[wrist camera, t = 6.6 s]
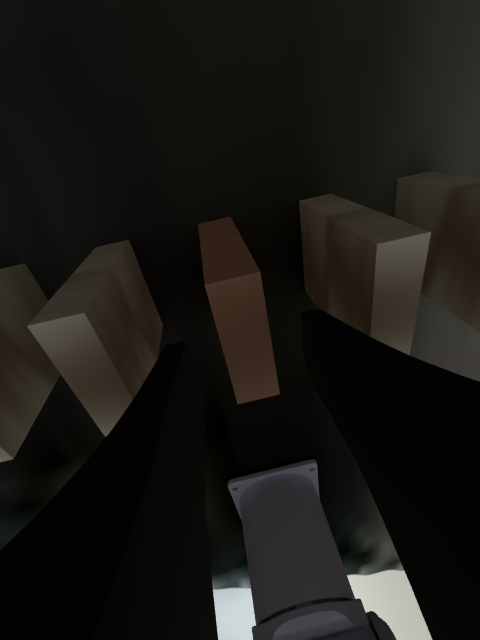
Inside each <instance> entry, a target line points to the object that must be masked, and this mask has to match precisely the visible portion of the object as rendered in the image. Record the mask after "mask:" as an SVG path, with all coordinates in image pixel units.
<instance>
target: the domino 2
mask: <svg viewBox="0 0 480 640" xmlns="http://www.w3.org/2000/svg"><path fill="white" fill-rule="evenodd" d="M27 327H28V329H29V330H30V331H31V333H32V334H33V336H34V337H35V338H36V340H37V341H38V343H39V344H40V345H41V347H42V348H43V350H44V351H45V352H46V354H47V355H48V357H49V358H50V359H51V361H52V362H53V364H54V365H55V367H56V368H57V369H58V371H59V372H60V374H61V375H62V376H63V378H64V379H65V381H66V382H67V383H68V385H69V386H70V388H71V389H72V390H73V392H74V393H75V395H76V396H77V397H78V399H79V400H80V402H81V403H82V405H83V406H84V407H85V409H86V410H87V412H88V413H89V414H90V416H91V417H92V419H93V420H94V421H95V423H96V424H97V426H98V427H99V428H100V430H101V431H102V433H103V434H104V435H105V436H107V435H108V434H109V433H110V431H111V430H112V429H113V427H114V426H115V425H116V423H117V422H118V420H119V419H120V417H121V416H122V415H123V413H124V412H125V410H126V409H127V407H128V406H129V405H130V403H131V402H132V400H133V399H134V397H135V395H136V394H137V392H138V391H139V389H140V387H141V386H142V384H143V383H144V381H145V380H146V378H147V376H148V375H149V373H150V371H151V370H152V368H153V366H154V364H155V363H156V361H157V359H158V354H159V348H160V341H161V334H162V327H163V324H162V321H161V319H160V316H159V314H158V311H157V309H156V306H155V304H154V301H153V299H152V296H151V294H150V291H149V289H148V286H147V284H146V281H145V279H144V276H143V274H142V271H141V269H140V266H139V264H138V261H137V259H136V256H135V254H134V251H133V249H132V246H131V244H130V241H129V240H125V241H121V242H117V243H112V244H108V245H103V246H99V247H96V248H95V249H94V250H93V251H92V252H91V253H90V255H89V256H88V257H87V258H86V259H85V260H84V261H83V263H82V264H81V265H80V266H79V267H78V268H77V269H76V271H75V272H74V273H73V274H72V275H71V276H70V277H69V279H68V280H67V281H66V282H65V283H64V284H63V285H62V287H61V288H60V289H59V290H58V291H57V292H56V293H55V294H54V296H53V297H52V298H51V299H50V300H49V301H48V302H47V304H46V305H45V306H44V307H43V308H42V309H41V310H40V312H39V313H38V314H37V315H36V316H35V317H34V318H33V320H32V321H31V322H30V323H29V324H28V325H27Z"/></svg>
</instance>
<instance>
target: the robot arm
mask: <svg viewBox="0 0 480 640" xmlns="http://www.w3.org/2000/svg"><path fill="white" fill-rule="evenodd" d="M301 324H302V336H303V348H304V360H305V364H306V367H307V369H308V372H309V374H310V377H311V379H312V381H313V384H314V386H315V388H316V390H317V392H318V394H319V396H320V397H321V399H322V401H323V403H324V404H325V406H326V408H327V410H328V412H329V413H330V415H331V417H332V419H333V420H334V422H335V424H336V426H337V427H338V429H339V431H340V433H341V434H342V436H343V438H344V439H345V441H346V443H347V445H348V446H349V448H350V450H351V452H352V454H353V456H354V458H355V460H356V461H357V463H358V465H359V467H360V470H361V472H362V474H363V476H364V478H365V481H366V483H367V485H368V487H369V489H370V492H371V494H372V496H373V498H374V500H375V503H376V505H377V507H378V510H379V512H380V514H381V516H382V519H383V521H384V523H385V526H386V528H387V530H388V533H389V535H390V537H391V539H392V542H393V544H394V547H395V549H396V551H397V554H398V556H399V558H400V561H401V563H402V566H403V568H404V570H405V573H406V575H407V578H408V580H409V582H410V585H411V587H412V589H413V592H414V595H415V597H416V600H417V602H418V605H419V607H420V610H421V612H422V615H423V617H424V619H425V622H426V625H427V627H428V630H429V632H430V634H431V637H432V639H433V640H480V382H479V381H476V380H473V379H470V378H467V377H464V376H461V375H458V374H455V373H453V372H450V371H448V370H445V369H442V368H440V367H437V366H434V365H432V364H429V363H427V362H424V361H422V360H419V359H417V358H415V357H412V356H410V355H408V354H406V353H403V352H401V351H399V350H397V349H395V348H393V347H390V346H388V345H386V344H384V343H382V342H380V341H378V340H376V339H374V338H372V337H370V336H368V335H366V334H364V333H363V332H361V331H359V330H357V329H355V328H353V327H352V326H350V325H348V324H346V323H344V322H343V321H341V320H339V319H337V318H335V317H334V316H332V315H330V314H328V313H327V312H325V311H323V310H321V309H316V310H312V311H308V312H304V313H301ZM228 488H229V491H230V493H231V496H232V498H233V501H234V503H235V506H236V508H237V511H238V513H239V516H240V518H241V521H242V525H243V532H244V540H245V547H246V554H247V562H248V569H249V576H250V584H251V591H252V598H253V606H254V613H255V620H256V626H253V627H252V633H253V640H396V638H395V636H394V634H393V632H392V631H391V629H390V628H389V626H388V625H387V623H386V622H385V621H383V620H382V619H381V618H379V617H378V615H377V614H376V613H375V612H373V611H370V612H367V613H366V612H365V610H364V607H363V604H362V602H361V599H355V597H354V594H353V592H352V589H351V586H350V583H349V580H348V578H347V575H346V572H345V569H344V567H343V564H342V561H341V558H340V555H339V553H338V550H337V547H336V544H335V542H334V539H333V536H332V533H331V530H330V528H329V525H328V522H327V519H326V517H325V514H324V511H323V508H322V505H321V503H320V499H319V485H318V471H317V463H316V461H315V460H314V459H310V460H306V461H302V462H298V463H294V464H290V465H286V466H282V467H278V468H274V469H270V470H266V471H262V472H258V473H254V474H250V475H246V476H242V477H238V478H234V479H231V480H229V481H228ZM0 640H218V634H217V625H216V615H215V606H214V597H213V587H212V577H211V566H210V555H209V545H208V533H207V521H206V508H205V410H204V401H203V392H202V386H201V383H200V381H199V378H198V375H197V372H196V369H195V367H194V364H193V361H192V358H191V356H190V353H189V350H188V347H187V344H186V342H185V341H182V342H178V343H173V344H169V345H166V346H165V348H164V349H163V351H162V353H161V354H160V356H159V358H158V359H157V361H156V363H155V364H154V366H153V368H152V370H151V371H150V373H149V375H148V376H147V378H146V380H145V381H144V383H143V384H142V386H141V387H140V389H139V391H138V392H137V394H136V395H135V397H134V399H133V400H132V402H131V403H130V405H129V406H128V407H127V409H126V410H125V412H124V413H123V415H122V416H121V417H120V419H119V420H118V422H117V423H116V425H115V426H114V427H113V429H112V430H111V431H110V433H109V434H108V435H107V436H106V438H105V439H104V440H103V442H102V443H101V444H100V445H99V446H98V448H97V449H96V450H95V451H94V453H93V454H92V455H91V456H90V457H89V459H88V460H87V461H86V462H85V463H84V464H83V466H82V467H81V468H80V469H79V470H78V471H77V472H76V473H75V475H74V476H73V477H72V478H71V479H70V480H69V481H68V482H67V483H66V484H65V485H64V486H63V487H62V489H61V490H60V491H59V492H58V493H57V494H56V495H55V496H54V497H53V498H52V499H51V500H50V502H49V503H48V504H47V505H46V506H45V507H44V508H43V509H42V510H41V511H40V512H39V513H38V514H37V515H36V516H35V517H34V518H33V519H32V520H31V521H30V522H29V523H28V524H27V525H26V526H25V527H24V528H23V529H22V530H21V531H20V532H19V533H18V534H17V535H16V536H15V537H14V538H13V539H12V540H11V541H10V542H9V543H8V544H7V545H6V546H5V547H4V548H3V549H1V550H0Z"/></svg>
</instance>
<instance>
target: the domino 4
mask: <svg viewBox="0 0 480 640" xmlns="http://www.w3.org/2000/svg"><path fill="white" fill-rule="evenodd" d="M394 218H396V219H399V220H402V221H404V222H407V223H410V224H412V225H415V226H417V227H420V228H423V229H425V230H428V231H431V235H430V241H429V247H428V253H427V258H426V264H425V270H424V275H423V281H422V287H421V294H423V295H424V296H426V297H427V298H429V299H430V300H432V301H433V302H435V303H436V304H438V305H439V306H441V307H443V308H444V309H446V310H447V311H449V312H450V313H452V314H453V315H455V316H456V317H458V318H459V319H461V320H462V321H464V322H465V323H467V324H468V325H470V326H471V327H473V328H474V329H476V330H477V331H479V332H480V178H477V177H470V176H462V175H454V174H447V173H439V172H432V171H428V172H423V173H419V174H414V175H410V176H406V177H401V178H398V181H397V190H396V200H395V210H394Z"/></svg>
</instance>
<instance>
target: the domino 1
mask: <svg viewBox="0 0 480 640" xmlns="http://www.w3.org/2000/svg"><path fill="white" fill-rule="evenodd" d="M48 301H49V300H48V299H47V297H46V296H45V294H44V292H43V291H42V289H41V288H40V286H39V284H38V283H37V281H36V280H35V278H34V276H33V275H32V273H31V272H30V270H29V268H28V267H27V265H26V264H20V265H16V266H11V267H7V268H3V269H0V462H3V461H7V460H11V459H14V457H15V455H16V453H17V452H18V450H19V448H20V446H21V444H22V442H23V441H24V439H25V437H26V435H27V433H28V432H29V430H30V428H31V426H32V424H33V423H34V421H35V419H36V417H37V415H38V414H39V412H40V410H41V408H42V406H43V405H44V403H45V401H46V399H47V397H48V396H49V394H50V392H51V390H52V388H53V387H54V385H55V383H56V381H57V379H58V378H59V376H60V372H59V371H58V369H57V368H56V367H55V365H54V364H53V362H52V361H51V359H50V358H49V357H48V355H47V354H46V352H45V351H44V350H43V348H42V347H41V345H40V344H39V343H38V341H37V340H36V338H35V337H34V336H33V334H32V333H31V331H30V330H29V329H28V327H27V325H28V324H29V323H30V322H31V321H32V320H33V318H34V317H35V316H36V315H37V314H38V313H39V312H40V310H41V309H42V308H43V307H44V306H45V305H46V304H47V302H48Z"/></svg>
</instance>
